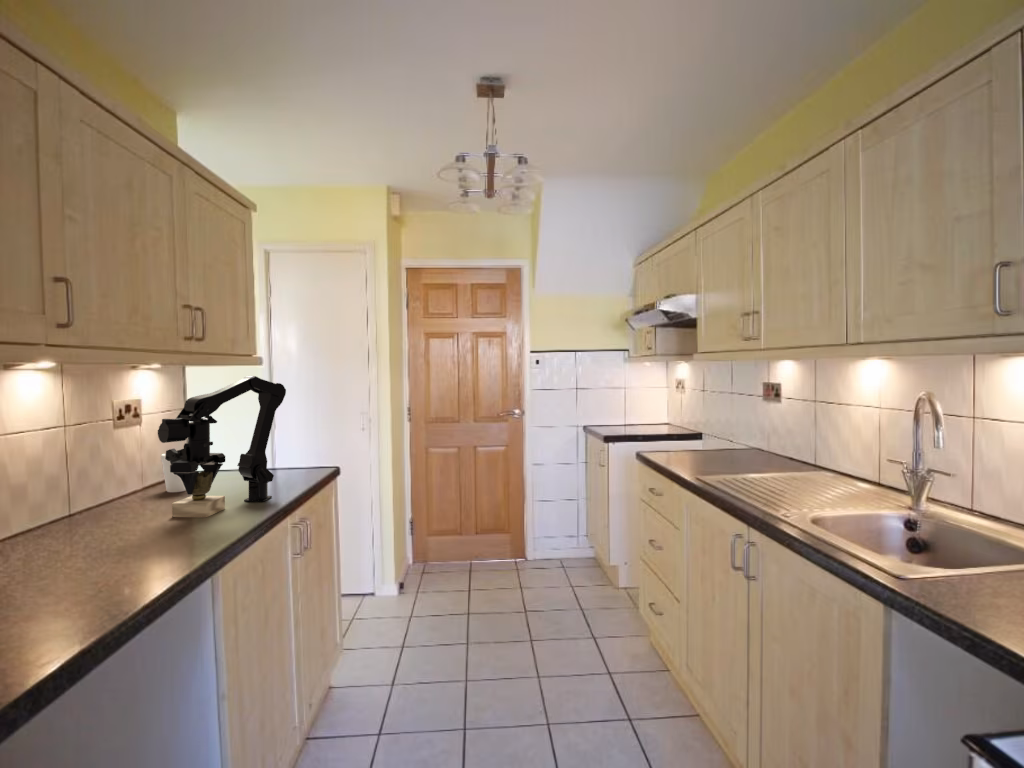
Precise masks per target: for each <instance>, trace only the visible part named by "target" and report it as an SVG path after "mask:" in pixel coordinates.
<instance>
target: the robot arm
mask: <svg viewBox="0 0 1024 768" xmlns="http://www.w3.org/2000/svg"><path fill="white" fill-rule="evenodd" d="M249 391H252V393H253V392H254V393H256V394H257V395H258V397H257V399H258V403H259V412H258V415H257V418H256V423H255V425H254V429H253V434H252V439H251V442H250V446H249V449H248V450H247V452H245V453H241V454H240V456H239V462H238V463H237V467H238V472H239V473H240V476H241V477H242V479H243V481H244V482H248V497H247V498H245V499H243V502H254V503H255V502H256V503H257V502H260V503H263V502H266V501H267V500H270V499H271V498H273V496H272V495H268V487H269V486H268V485H269V483H270V482H273V479H274V476H275V475H274V473H272V472H271V471H270V470H269V469H268V458H267V454H266V450H267V446H268V442H269V438H270V434H271V431H272V427H273V422H274V418H275V415H276V411H277V409H278V408H279V407H280V406H281V405H282V404H283V401H284V398H285V396H286V394H287V389H286V388H285V386H284V384H282V383H280V382H271V381H269V380H266V379H263V378H261V377H258V376H255V375H246V376H244V377H243V378H241V379H240V380H237V381H235V382H233V383H230V384H228V385H226V386H224V387H221V388H219V389H217V390H215V391H213V392H210V393H205V394H200V395H199V394H198V395H196V396H192V397H190V398H188V399H186V401H185V402H184V406H183V408H182V409H181V411H180V412H179V413H178V414H177V416H176V417H175V418H162V419H161V423H160V425H159V426H158V430H157V438H158V439H159V442H160V443H162V444H165V443H173V442H174V443H175V442H184V444H183V448H182V449H179V450H176V449H175V448H170V449H167V450H166V451H165V453H166V458H165V459H166V460H167V461H170V463H171V465H170V472H173V474H174V475H178V476H179V477H180V478H181V480H182V482H183V484H184V486H185V489H186V491H185V492H186V494H187V495H190V496H192V495H191V494H192V493H193V490H194V486H195V483H196V479H197V476H198V472H199V471H198V469H199V467H200V468H201V469H202V471H204V472H205V473H207V472H208V471H209V473H210V472H213V477H212V484H213V482H214V481H215V479H216V476H217V475H218V473H219V471H220V470H221V467H222V466H223V465H224V463H226V455H225V454H224V453H222V452H211V446H214V441H211V434H210V433H211V432H210V431H211V425H212V424H217V423H218V420H216V419H215V418H213V416H212V414H213V413H215V412H217V410H218V409H219V408H220V407H221V405H223V404H225V403H227V402H229V401H232V400H233V399H235V398H238V397H239V396H242V395H244V394H247V392H249ZM186 440H187V442H186V443H185V441H186ZM199 473H200V472H199Z"/></svg>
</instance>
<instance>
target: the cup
mask: <svg viewBox="0 0 1024 768" xmlns="http://www.w3.org/2000/svg"><path fill="white" fill-rule="evenodd" d="M212 477H213V472H210V473H209V471H208V472H207V473H205V472H204V470H202V471H200V472H198V476H197V479H196V483H195V486H194V490H193V493H192V494H191V495H190V496H192V499H193V500H196V501H198V500H203V499H205V498H206V496H207V495H206V494H208V493H209V492H210V491H211V488H212V485H213V483H212Z"/></svg>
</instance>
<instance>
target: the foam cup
mask: <svg viewBox="0 0 1024 768" xmlns="http://www.w3.org/2000/svg"><path fill="white" fill-rule="evenodd" d="M165 458H166V452H165V453H162V454H161V455H160V462H161V464H162V472H163V476H164V484H165V488H166V492H167V493H181V492H187V491H186V489H185V486H184V484H183V482H182V480H181V478H180V477H179V476H178V475H174V474H173V472H170V465H171V463H170V461H167V460H166V459H165Z"/></svg>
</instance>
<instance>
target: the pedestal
mask: <svg viewBox="0 0 1024 768" xmlns="http://www.w3.org/2000/svg"><path fill="white" fill-rule="evenodd" d="M192 496H193V495H190V496H188V497H185V498H182V499H180V500H177V501H174V502H172V503H171V515H172V516H171V517H172V518H208V517H210V516H212V515H214V514H216V513H219V512H221V511H223V510H226V500H225V499H226V497H225V496H226V495H206V498H205V499H203V500H198V501H196V500H193V499H192Z"/></svg>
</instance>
